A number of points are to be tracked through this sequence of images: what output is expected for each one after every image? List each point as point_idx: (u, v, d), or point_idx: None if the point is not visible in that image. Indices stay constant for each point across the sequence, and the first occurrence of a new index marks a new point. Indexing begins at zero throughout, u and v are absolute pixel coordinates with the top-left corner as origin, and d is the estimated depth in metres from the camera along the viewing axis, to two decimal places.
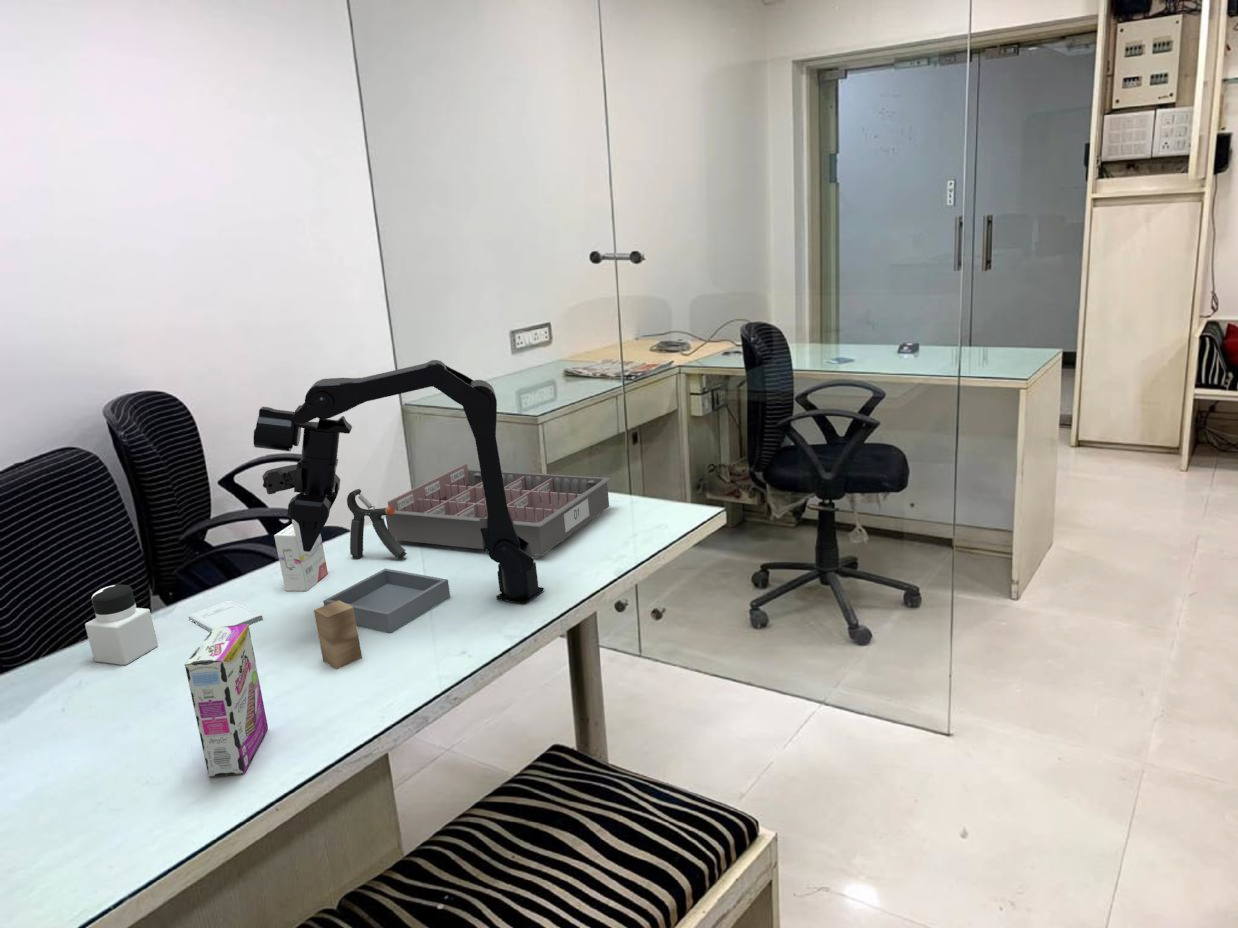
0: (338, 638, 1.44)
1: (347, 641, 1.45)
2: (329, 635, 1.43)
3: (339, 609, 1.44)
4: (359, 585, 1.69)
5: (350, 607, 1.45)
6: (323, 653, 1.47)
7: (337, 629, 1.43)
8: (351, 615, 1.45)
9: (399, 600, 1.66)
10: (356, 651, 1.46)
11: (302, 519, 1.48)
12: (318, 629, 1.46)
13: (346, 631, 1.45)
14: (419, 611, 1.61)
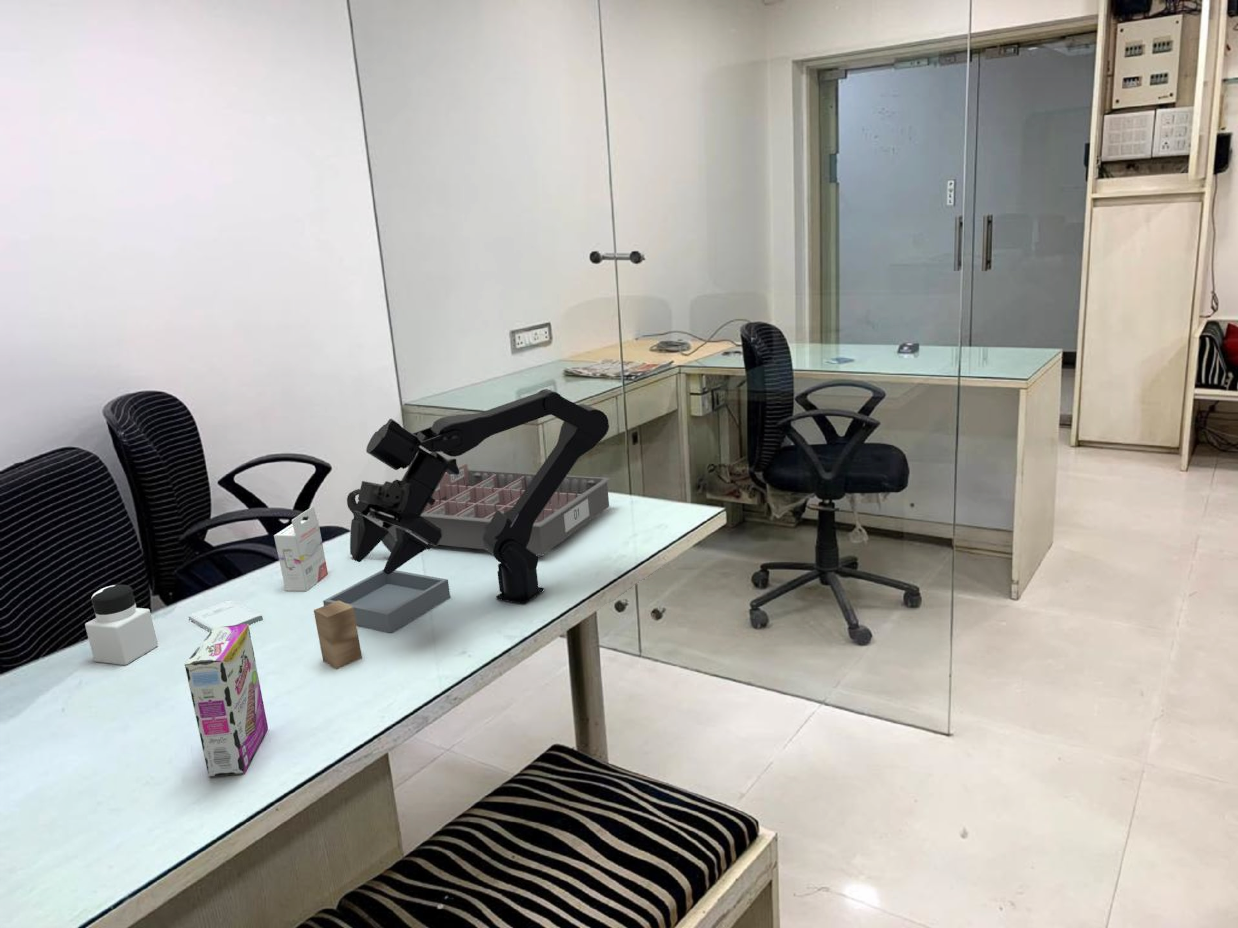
0: (338, 638, 1.44)
1: (347, 641, 1.45)
2: (329, 635, 1.43)
3: (339, 609, 1.44)
4: (359, 585, 1.69)
5: (350, 607, 1.45)
6: (323, 653, 1.47)
7: (337, 629, 1.43)
8: (351, 615, 1.45)
9: (399, 600, 1.66)
10: (356, 651, 1.46)
11: (414, 538, 1.45)
12: (318, 629, 1.46)
13: (346, 631, 1.45)
14: (419, 611, 1.61)
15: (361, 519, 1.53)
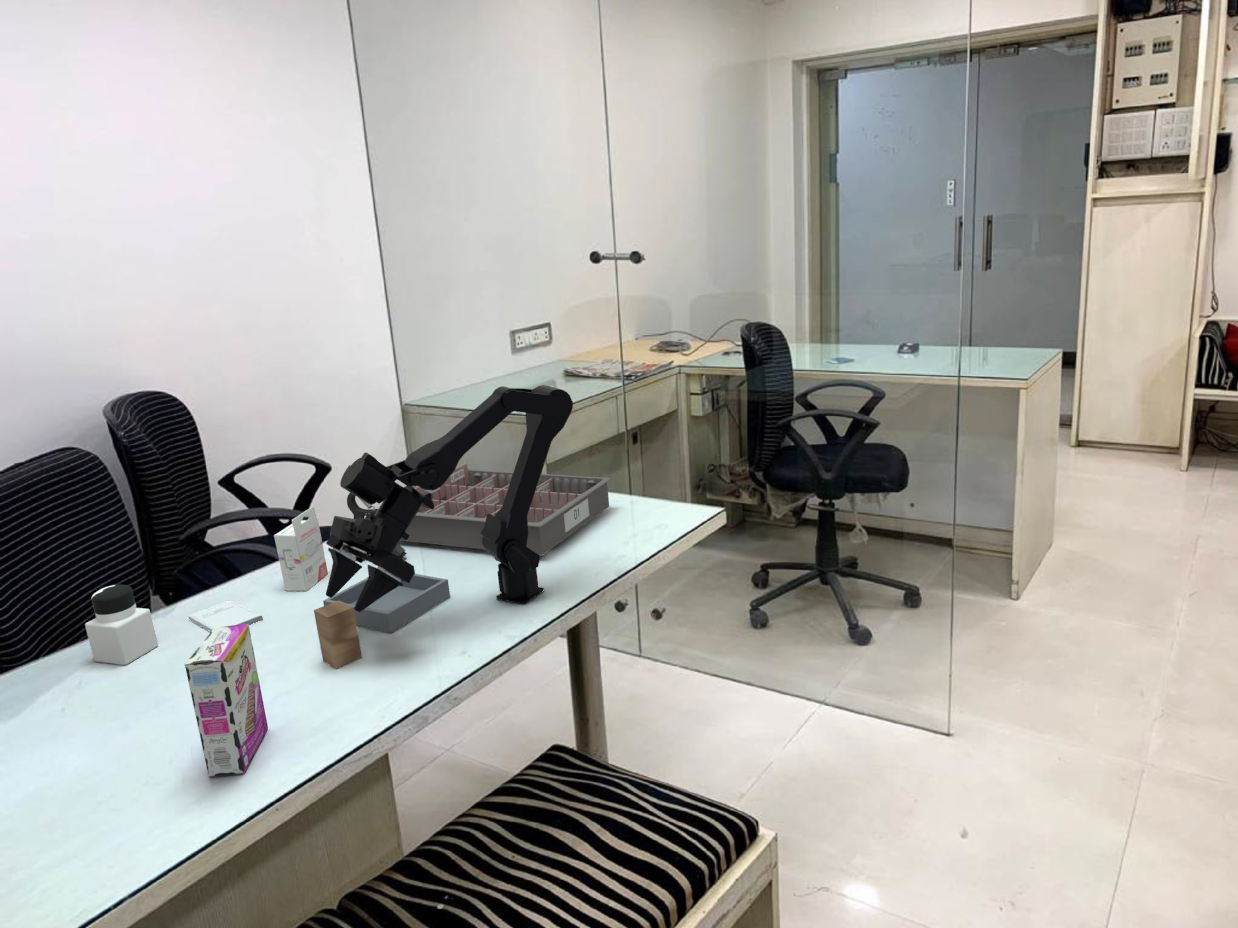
0: (338, 638, 1.44)
1: (347, 641, 1.45)
2: (329, 635, 1.43)
3: (339, 609, 1.44)
4: (359, 585, 1.69)
5: (350, 607, 1.45)
6: (323, 653, 1.47)
7: (337, 629, 1.43)
8: (351, 615, 1.45)
9: (399, 600, 1.66)
10: (356, 651, 1.46)
11: (386, 576, 1.42)
12: (318, 629, 1.46)
13: (346, 631, 1.45)
14: (419, 611, 1.61)
15: (333, 553, 1.50)
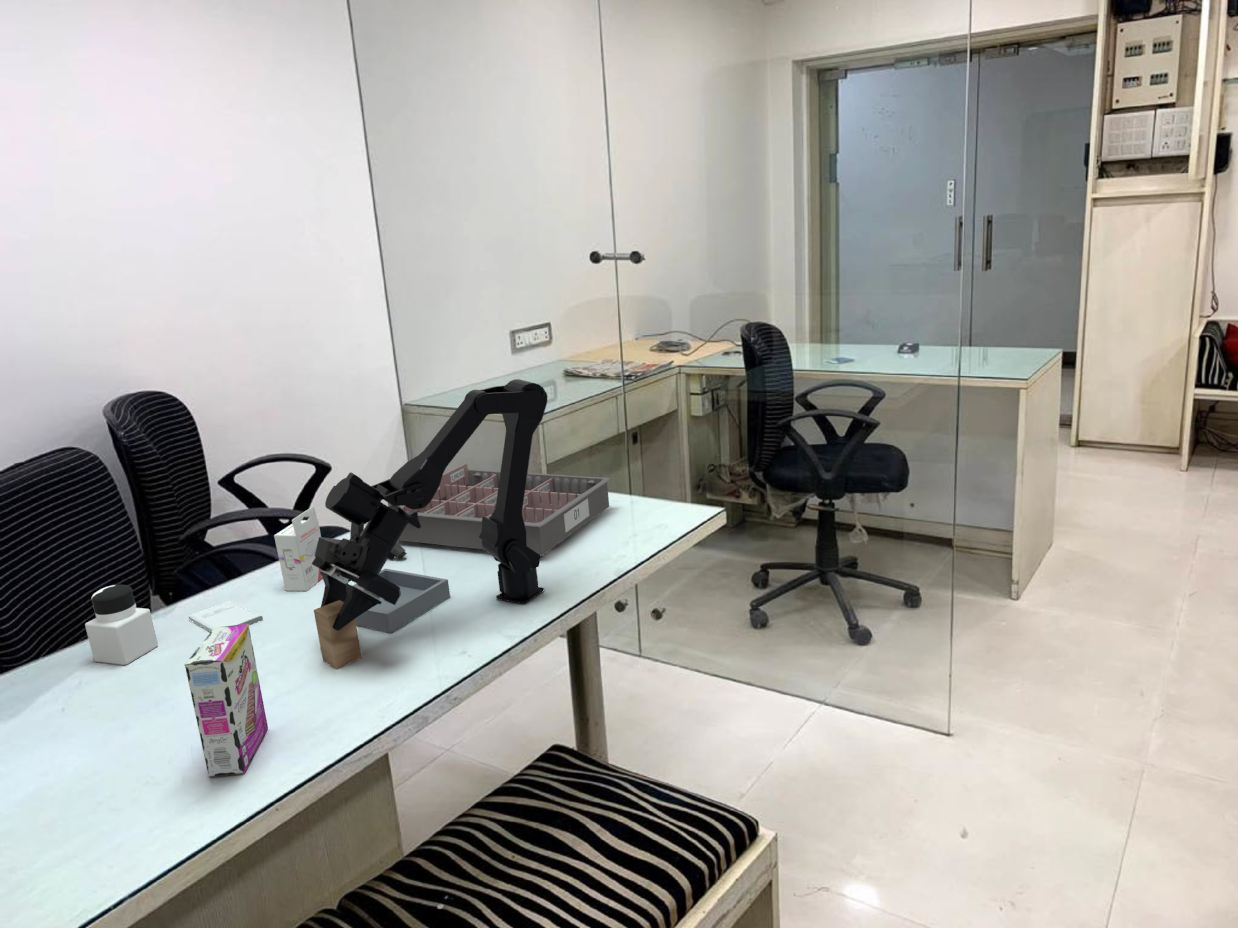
0: (338, 637, 1.44)
1: (347, 641, 1.45)
2: (329, 635, 1.43)
3: (339, 609, 1.44)
4: None
5: None
6: (323, 653, 1.47)
7: None
8: None
9: (399, 600, 1.66)
10: (356, 651, 1.46)
11: (364, 594, 1.42)
12: (318, 629, 1.46)
13: (346, 631, 1.45)
14: (419, 611, 1.61)
15: (325, 577, 1.47)
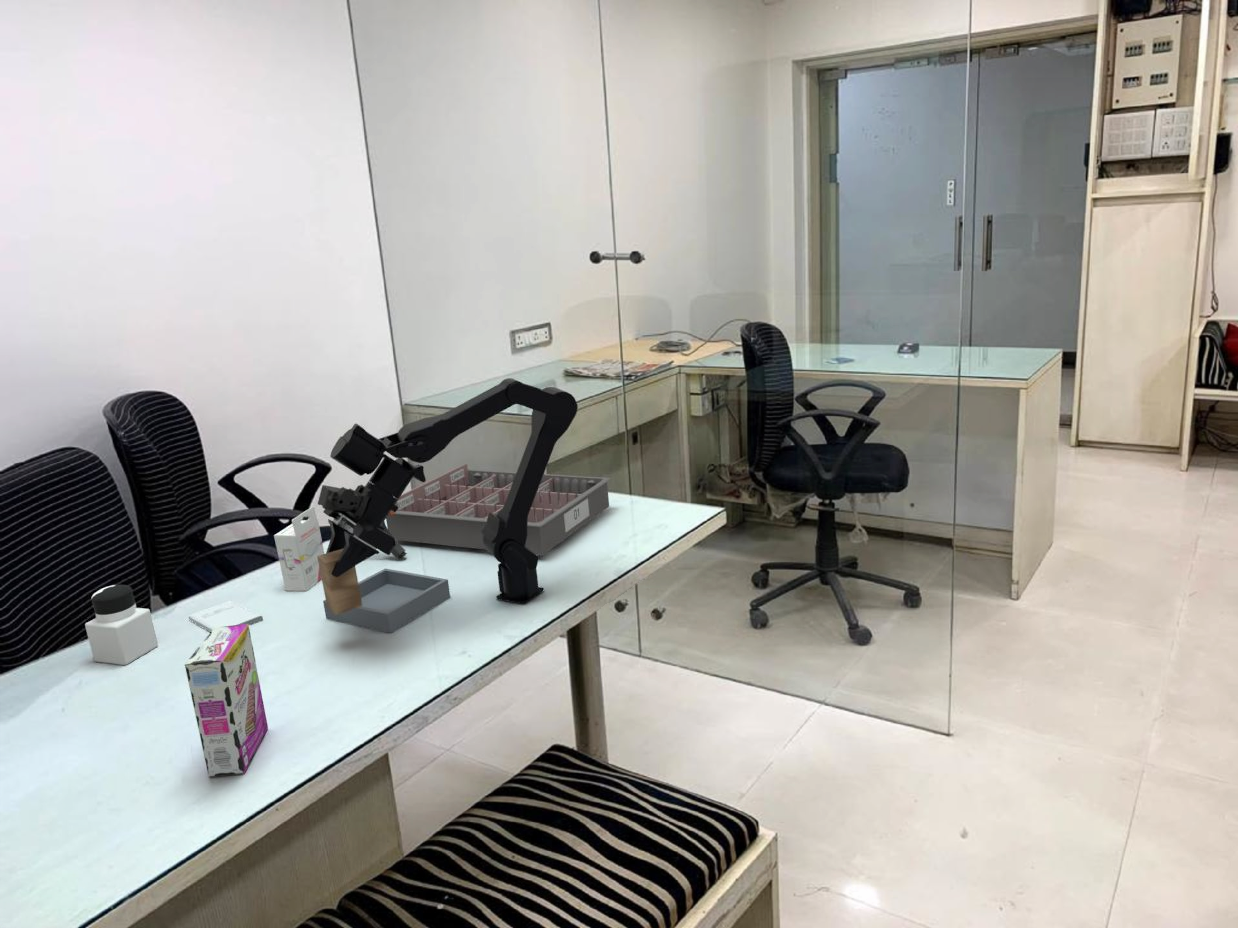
0: (337, 584, 1.47)
1: (346, 588, 1.48)
2: (328, 581, 1.47)
3: None
4: (359, 585, 1.69)
5: None
6: (326, 598, 1.51)
7: None
8: None
9: (399, 600, 1.66)
10: (356, 599, 1.50)
11: (360, 543, 1.44)
12: (321, 575, 1.50)
13: (346, 579, 1.48)
14: (419, 611, 1.61)
15: (331, 525, 1.51)
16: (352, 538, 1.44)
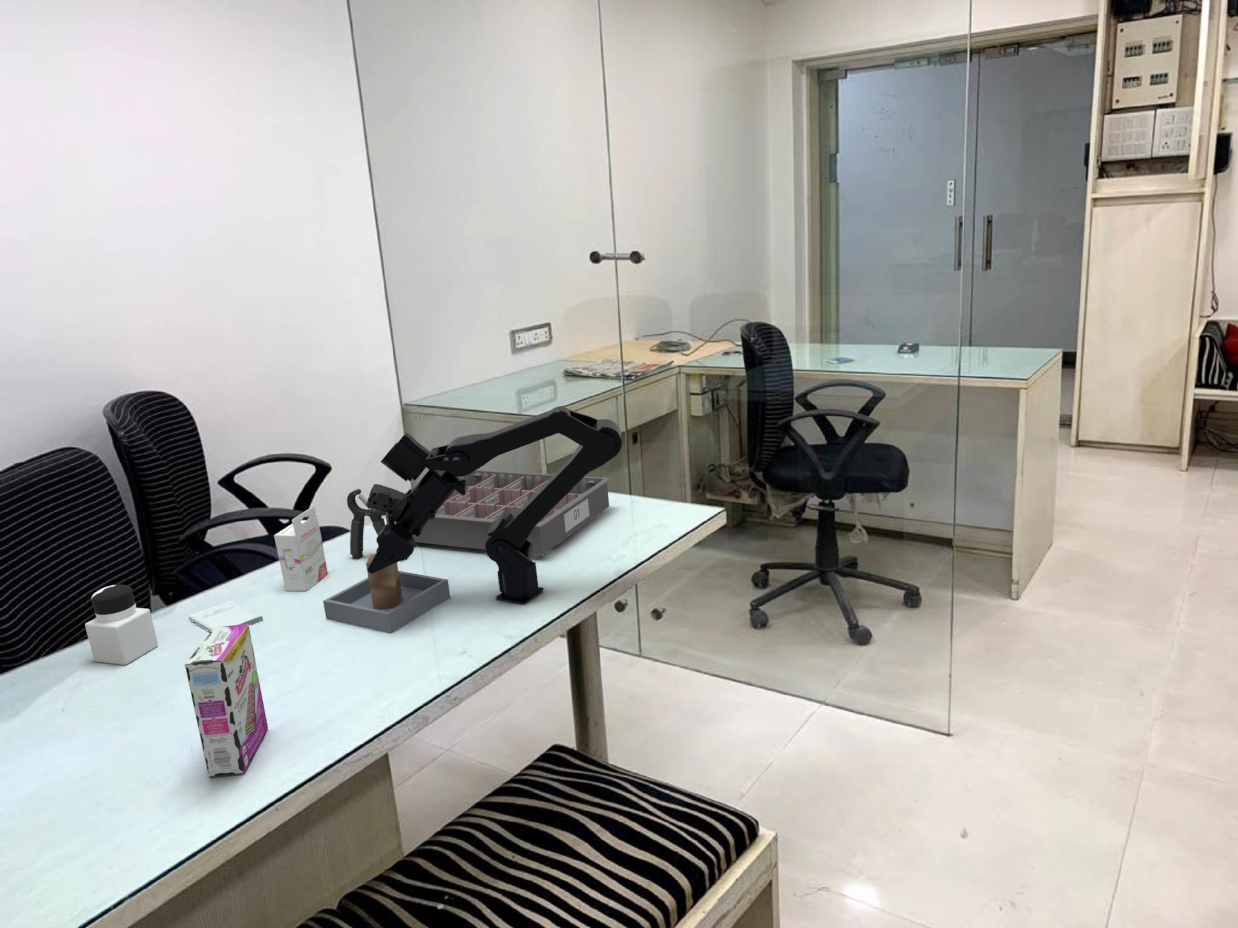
0: (375, 583, 1.62)
1: (384, 589, 1.62)
2: (369, 579, 1.62)
3: None
4: (359, 585, 1.69)
5: None
6: None
7: (375, 576, 1.62)
8: (389, 567, 1.61)
9: None
10: (393, 600, 1.63)
11: (385, 548, 1.54)
12: None
13: (384, 580, 1.62)
14: (419, 611, 1.61)
15: (388, 516, 1.67)
16: (378, 542, 1.54)
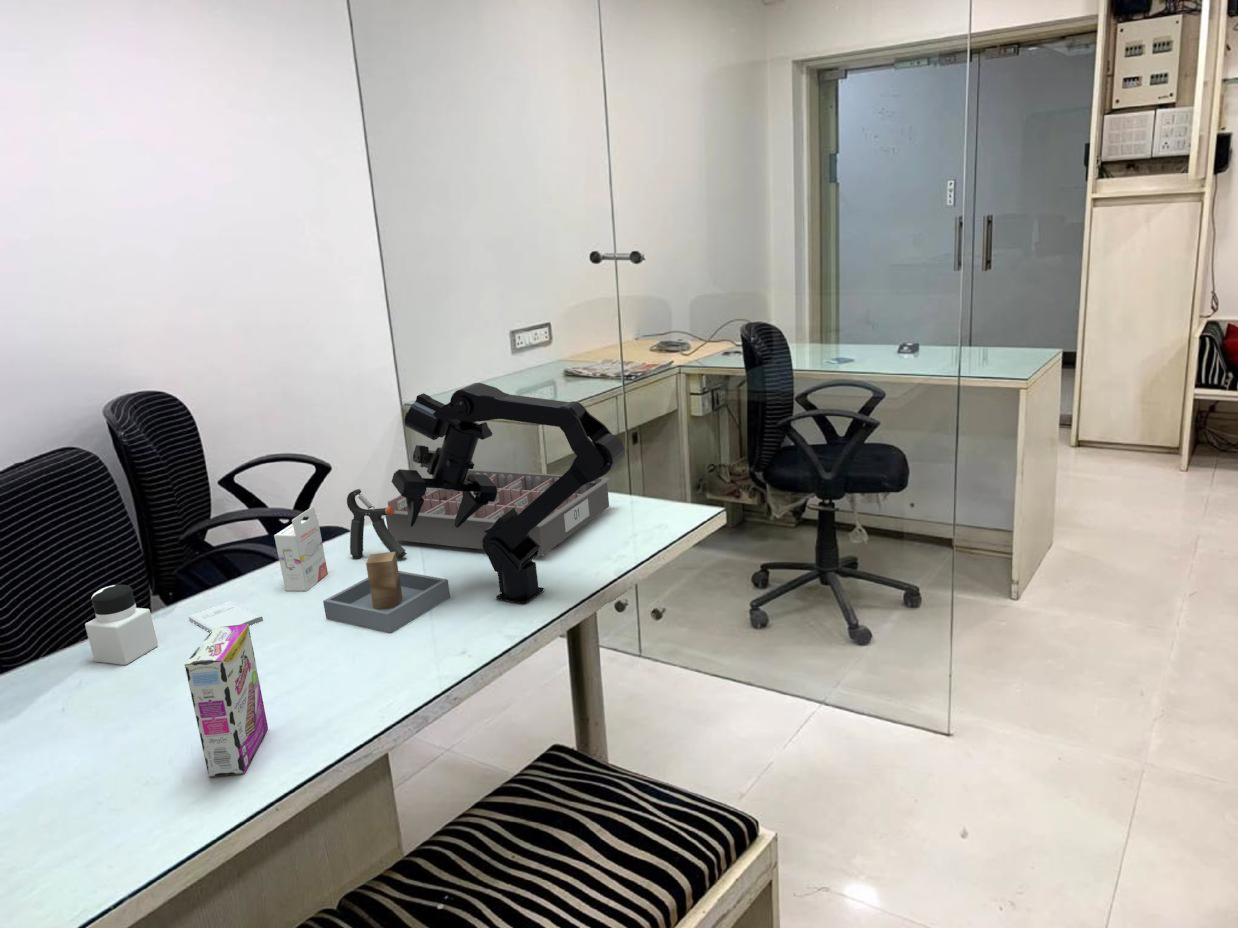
0: (375, 583, 1.62)
1: (384, 589, 1.62)
2: (369, 579, 1.62)
3: (382, 559, 1.62)
4: (359, 585, 1.69)
5: (390, 560, 1.61)
6: None
7: (375, 576, 1.62)
8: (389, 567, 1.61)
9: None
10: (393, 600, 1.63)
11: None
12: None
13: (384, 580, 1.62)
14: (419, 611, 1.61)
15: None
16: None
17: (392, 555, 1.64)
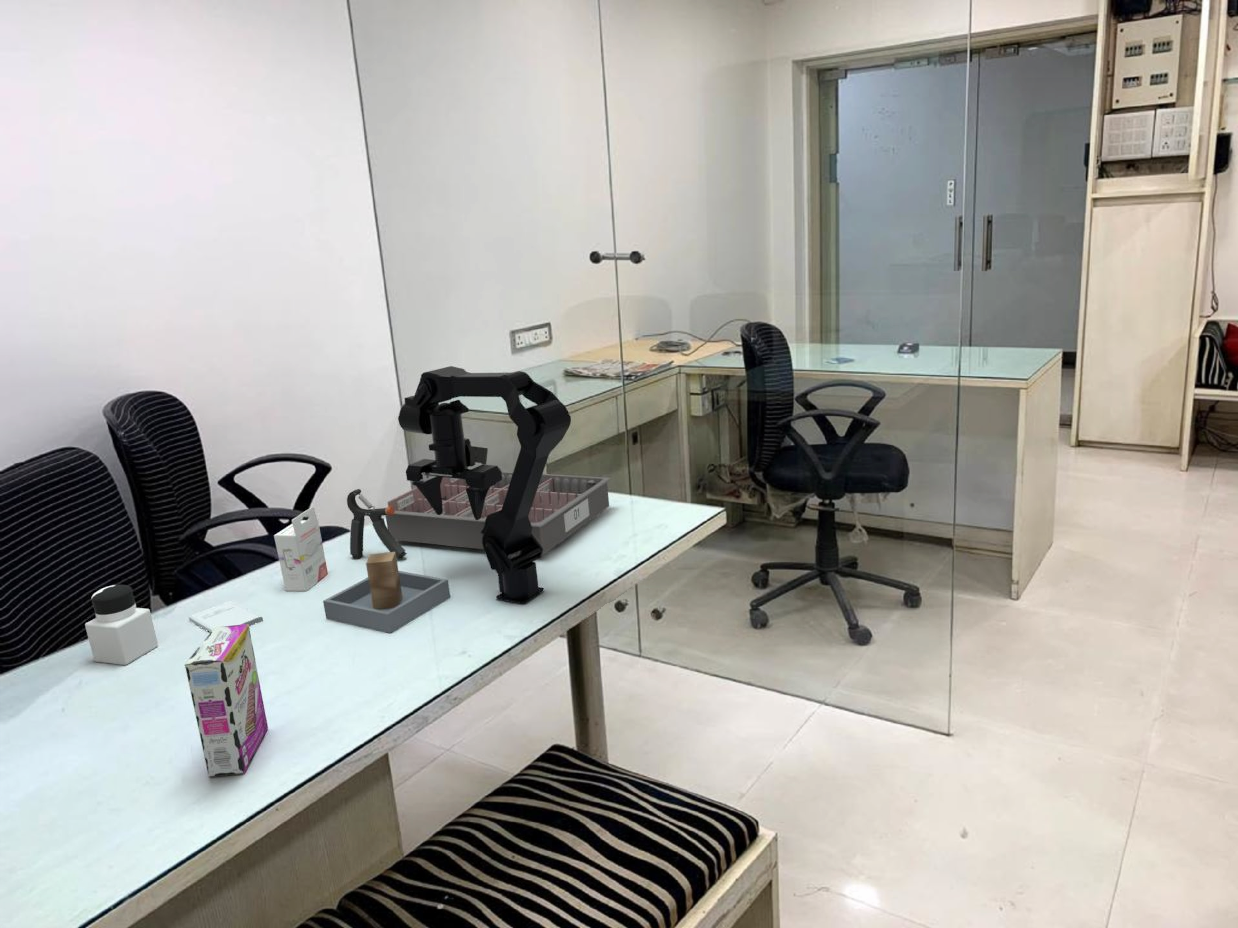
0: (375, 583, 1.62)
1: (384, 589, 1.62)
2: (369, 579, 1.62)
3: (382, 559, 1.62)
4: (359, 585, 1.69)
5: (390, 560, 1.61)
6: None
7: (375, 576, 1.62)
8: (389, 567, 1.61)
9: None
10: (393, 600, 1.63)
11: None
12: None
13: (384, 580, 1.62)
14: (419, 611, 1.61)
15: None
16: None
17: (392, 555, 1.64)
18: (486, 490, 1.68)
